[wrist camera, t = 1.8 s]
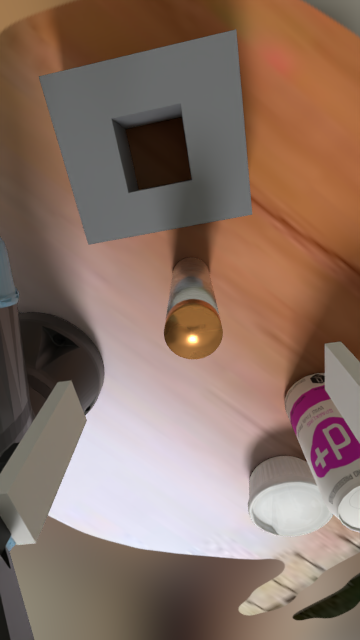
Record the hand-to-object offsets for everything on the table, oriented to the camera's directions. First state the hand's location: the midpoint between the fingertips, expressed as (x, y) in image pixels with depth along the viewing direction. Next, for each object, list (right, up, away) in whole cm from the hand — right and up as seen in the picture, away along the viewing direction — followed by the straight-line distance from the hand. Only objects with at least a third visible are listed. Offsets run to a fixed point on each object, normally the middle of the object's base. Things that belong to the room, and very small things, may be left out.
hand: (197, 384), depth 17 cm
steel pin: (0, +8, +18) cm, 20 cm away
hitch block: (-3, +19, +13) cm, 23 cm away
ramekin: (+14, -20, +31) cm, 39 cm away
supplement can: (+16, -6, +24) cm, 30 cm away
